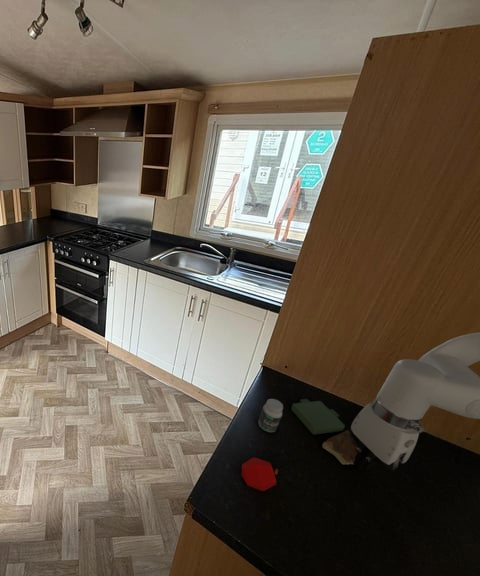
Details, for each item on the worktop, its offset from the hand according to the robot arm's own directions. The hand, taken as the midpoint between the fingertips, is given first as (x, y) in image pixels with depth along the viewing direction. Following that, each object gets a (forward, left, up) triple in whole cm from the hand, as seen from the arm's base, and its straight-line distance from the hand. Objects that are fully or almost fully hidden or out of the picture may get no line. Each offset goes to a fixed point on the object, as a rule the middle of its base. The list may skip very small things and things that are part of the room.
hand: (361, 465), depth 76 cm
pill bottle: (+19, -8, -2) cm, 21 cm away
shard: (+2, -6, -2) cm, 7 cm away
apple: (+25, +10, -2) cm, 27 cm away
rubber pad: (+5, -14, -2) cm, 15 cm away
